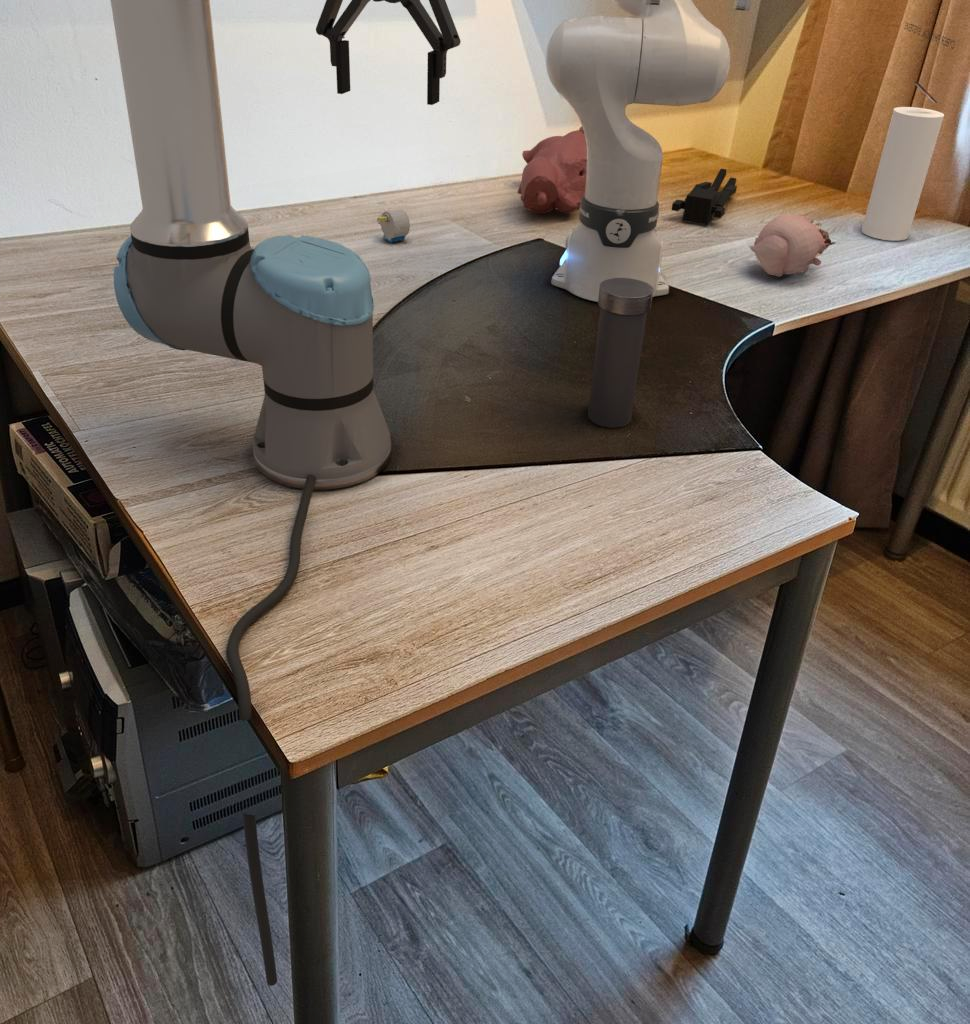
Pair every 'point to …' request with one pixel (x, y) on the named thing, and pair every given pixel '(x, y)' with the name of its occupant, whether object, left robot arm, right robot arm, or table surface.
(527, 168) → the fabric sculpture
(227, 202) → the left robot arm
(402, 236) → the electric motor
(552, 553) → the table surface
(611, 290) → the lid
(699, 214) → the toy
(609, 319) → the jar
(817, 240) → the toy
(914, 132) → the tall white tube
